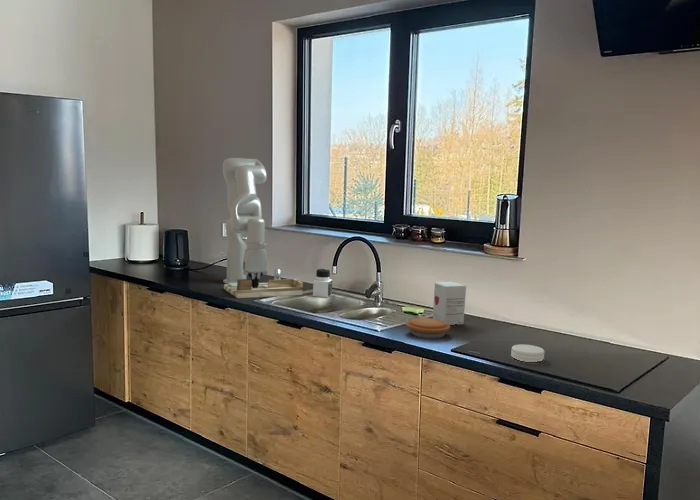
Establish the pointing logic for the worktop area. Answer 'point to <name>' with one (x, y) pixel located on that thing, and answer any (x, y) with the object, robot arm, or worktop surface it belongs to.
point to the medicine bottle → (322, 283)
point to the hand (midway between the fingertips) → (254, 287)
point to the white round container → (527, 353)
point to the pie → (427, 327)
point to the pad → (233, 285)
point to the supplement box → (449, 302)
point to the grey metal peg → (277, 274)
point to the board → (269, 289)
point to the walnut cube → (244, 284)
